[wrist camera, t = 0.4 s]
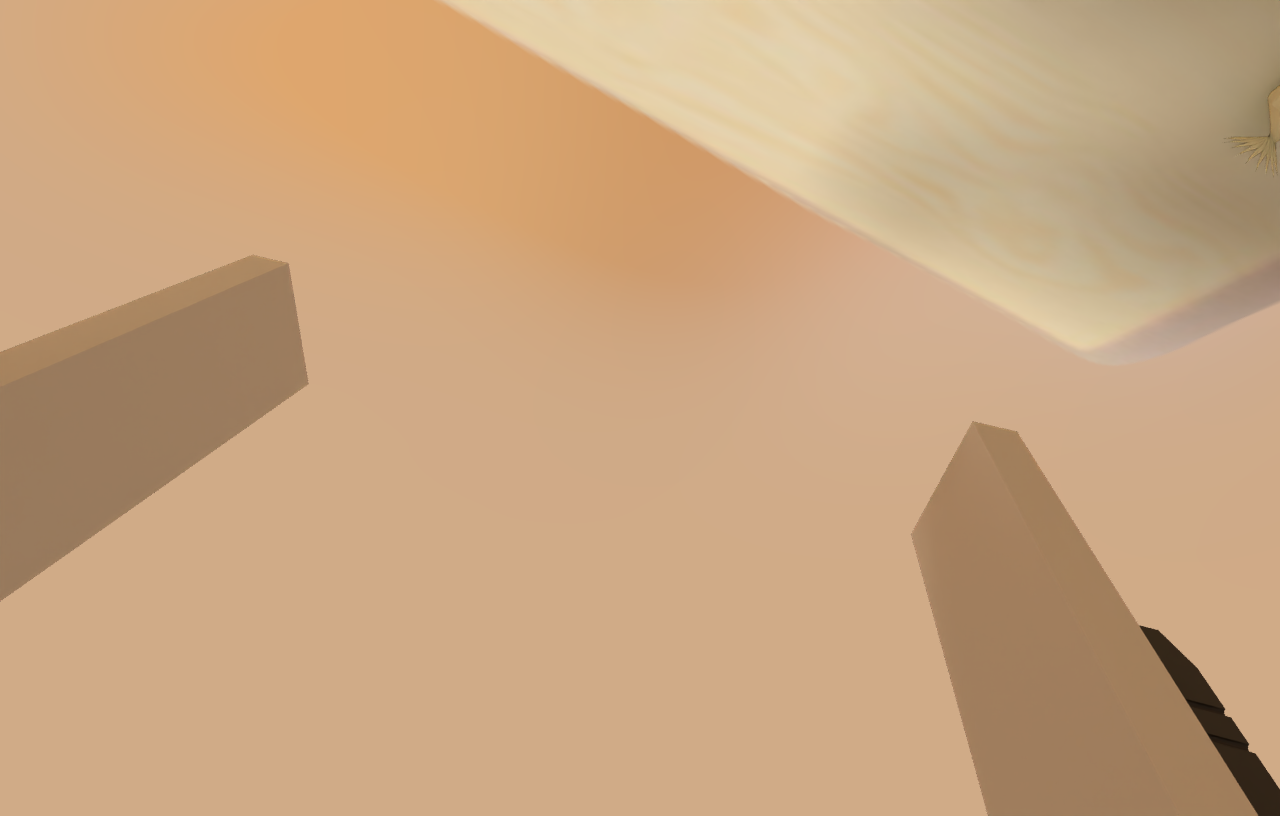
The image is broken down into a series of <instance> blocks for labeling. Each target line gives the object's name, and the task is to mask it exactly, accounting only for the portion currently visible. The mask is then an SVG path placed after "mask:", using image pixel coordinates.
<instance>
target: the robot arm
mask: <svg viewBox="0 0 1280 816" xmlns="http://www.w3.org/2000/svg"><path fill="white" fill-rule="evenodd" d="M306 385H308V378H307V372H306V366H305V361H304V354H303V348H302V342H301V336H300V330H299V324H298V318H297V311H296V305H295V300H294V294H293V288H292V281H291V275H290V269H289V264H288V263H285V262H281V261H277V260H273V259H268V258H264V257H260V256H255V255H251V256H249V257H246V258H243V259H241V260H238V261H236V262H233V263H231V264H228V265H226V266H223V267H220V268H217V269H215V270H212V271H210V272H207V273H204V274H202V275H199V276H197V277H194V278H191V279H189V280H186V281H184V282H181V283H178V284H176V285H173V286H171V287H168V288H165V289H163V290H160V291H158V292H155V293H152V294H150V295H147V296H145V297H142V298H139V299H137V300H134V301H132V302H129V303H127V304H124V305H121V306H119V307H116V308H114V309H111V310H108V311H106V312H103V313H100V314H98V315H95V316H93V317H90V318H87V319H85V320H82V321H80V322H77V323H74V324H72V325H69V326H67V327H64V328H61V329H59V330H56V331H54V332H51V333H48V334H46V335H43V336H41V337H38V338H35V339H33V340H30V341H28V342H25V343H23V344H20V345H17V346H15V347H12V348H10V349H7V350H4V351H2V352H0V601H1V600H3V599H4V598H6V597H7V596H8V595H10V594H11V593H13V592H14V591H15V590H17V589H18V588H20V587H21V586H22V585H24V584H25V583H27V582H28V581H30V580H31V579H32V578H34V577H35V576H37V575H38V574H40V573H41V572H42V571H44V570H45V569H47V568H48V567H49V566H51V565H52V564H54V563H55V562H57V561H58V560H59V559H61V558H62V557H64V556H65V555H66V554H68V553H69V552H71V551H72V550H74V549H75V548H76V547H78V546H79V545H81V544H82V543H83V542H85V541H86V540H88V539H89V538H91V537H92V536H93V535H95V534H96V533H98V532H99V531H101V530H102V529H103V528H105V527H106V526H108V525H109V524H110V523H112V522H113V521H115V520H116V519H118V518H119V517H120V516H122V515H123V514H125V513H126V512H128V511H129V510H130V509H132V508H133V507H134V506H136V505H137V504H139V503H140V502H142V501H143V500H145V499H146V498H147V497H149V496H150V495H152V494H153V493H155V492H156V491H157V490H159V489H160V488H162V487H163V486H164V485H166V484H167V483H169V482H170V481H171V480H173V479H174V478H176V477H177V476H178V475H180V474H181V473H183V472H184V471H186V470H187V469H189V468H190V467H191V466H193V465H194V464H196V463H197V462H198V461H200V460H201V459H203V458H204V457H206V456H207V455H208V454H210V453H211V452H213V451H214V450H215V449H217V448H218V447H220V446H221V445H222V444H224V443H225V442H227V441H228V440H230V439H231V438H233V437H234V436H235V435H237V434H238V433H240V432H241V431H242V430H244V429H245V428H247V427H248V426H250V425H251V424H252V423H254V422H255V421H257V420H258V419H259V418H261V417H262V416H264V415H265V414H266V413H268V412H269V411H271V410H272V409H274V408H275V407H276V406H278V405H279V404H281V403H282V402H283V401H285V400H286V399H288V398H289V397H291V396H292V395H294V394H295V393H296V392H298V391H299V390H301V389H302V388H303V387H305V386H306ZM911 536H912V540H913V544H914V547H915V550H916V554H917V558H918V562H919V565H920V569H921V573H922V576H923V580H924V584H925V587H926V591H927V595H928V598H929V602H930V606H931V609H932V613H933V617H934V620H935V624H936V627H937V631H938V635H939V638H940V642H941V645H942V649H943V653H944V657H945V660H946V664H947V668H948V671H949V675H950V679H951V682H952V686H953V689H954V693H955V697H956V701H957V704H958V708H959V711H960V715H961V719H962V722H963V726H964V730H965V733H966V737H967V741H968V744H969V748H970V752H971V755H972V759H973V763H974V766H975V770H976V774H977V777H978V781H979V785H980V788H981V792H982V795H983V799H984V803H985V806H986V810H987V814H988V816H1280V789H1279V788H1278V786H1277V785H1276V783H1275V782H1274V780H1273V779H1272V777H1271V776H1270V774H1269V773H1268V772H1267V770H1266V768H1265V767H1264V766H1263V764H1262V763H1261V761H1260V760H1259V758H1258V757H1257V755H1256V754H1255V753H1252V752H1249V751H1248V745H1249V743H1248V742H1247V740H1246V739H1245V737H1244V736H1243V735H1242V733H1241V732H1240V731H1239V729H1238V727H1237V726H1236V724H1235V723H1234V721H1233V720H1232V718H1231V717H1227V716H1225V714H1224V710H1225V708H1224V707H1223V705H1222V704H1221V702H1220V701H1219V699H1218V698H1217V696H1216V695H1215V693H1214V692H1213V690H1212V689H1211V688H1210V686H1209V685H1208V683H1207V682H1206V680H1205V679H1204V677H1203V676H1202V674H1201V673H1200V671H1199V670H1198V668H1197V667H1195V665H1193V663H1191V662H1190V661H1189V660H1188V659H1187V658H1186V657H1185V656H1184V655H1183V654H1182V653H1181V652H1180V651H1179V650H1178V649H1177V648H1176V647H1175V646H1174V645H1173V644H1172V643H1171V642H1170V641H1169V640H1168V639H1167V638H1166V637H1164V635H1163V634H1161V633H1160V632H1159V631H1158V630H1155V629H1151V628H1147V627H1144V626H1139V625H1138V623H1137V622H1136V620H1135V619H1134V617H1133V615H1132V614H1131V612H1130V611H1129V609H1128V607H1127V606H1126V604H1125V603H1124V601H1123V599H1122V598H1121V596H1120V595H1119V593H1118V591H1117V590H1116V588H1115V587H1114V585H1113V583H1112V582H1111V580H1110V579H1109V577H1108V576H1107V574H1106V572H1105V571H1104V569H1103V568H1102V566H1101V564H1100V563H1099V561H1098V560H1097V558H1096V556H1095V555H1094V553H1093V552H1092V550H1091V548H1090V547H1089V545H1088V544H1087V542H1086V541H1085V539H1084V537H1083V536H1082V534H1081V533H1080V531H1079V529H1078V528H1077V526H1076V525H1075V523H1074V521H1073V520H1072V518H1071V517H1070V515H1069V514H1068V512H1067V510H1066V509H1065V507H1064V505H1063V504H1062V502H1061V501H1060V499H1059V498H1058V496H1057V494H1056V493H1055V491H1054V490H1053V488H1052V486H1051V485H1050V483H1049V482H1048V480H1047V478H1046V477H1045V475H1044V474H1043V472H1042V471H1041V469H1040V467H1039V466H1038V464H1037V462H1036V461H1035V459H1034V458H1033V456H1032V455H1031V453H1030V451H1029V450H1028V448H1027V447H1026V445H1025V443H1024V442H1023V441H1022V439H1021V437H1020V436H1019V434H1018V432H1017V431H1012V430H1008V429H1004V428H999V427H995V426H991V425H986V424H982V423H978V422H972V423H971V425H970V427H969V429H968V431H967V433H966V434H965V436H964V438H963V440H962V442H961V444H960V446H959V447H958V449H957V451H956V453H955V455H954V456H953V458H952V460H951V462H950V464H949V465H948V467H947V469H946V471H945V473H944V475H943V476H942V478H941V480H940V482H939V484H938V486H937V487H936V489H935V491H934V493H933V495H932V497H931V498H930V501H929V502H928V504H927V506H926V508H925V509H924V511H923V513H922V515H921V517H920V519H919V521H918V522H917V524H916V526H915V528H914V530H913V531H912V533H911Z"/></svg>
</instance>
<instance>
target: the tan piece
mask: <svg viewBox="0 0 1280 816" xmlns="http://www.w3.org/2000/svg"><path fill="white" fill-rule="evenodd" d="M1268 103H1269V113H1270V130H1271V131H1270V135H1269V136H1268V137H1231V138H1223V139H1238V140H1239V141H1232V142H1248V143H1245V144H1242V145H1238V146H1235V147H1242V146H1251V147H1249V148H1248V149H1246V150H1244V151H1243V152H1241V153H1244V152H1247V151H1251V150H1254V149H1257V150H1256V151H1255V152H1254V153H1253V154H1252V155H1251V157H1250V158H1249V159H1248V161H1249V160H1250V159H1251V158H1253V157H1254V156H1256V155H1258V154H1259V153H1261V152H1262V153H1261V156H1260V159H1259V161H1258V164H1257V167H1258V165H1259V164H1260V162H1261V161H1262V160H1263V158H1264V157H1265V156H1266V172H1267V166H1268V163H1269V159H1270V158H1271V165H1272V171H1273V177H1274V169H1273V159H1274V163H1275V169H1276V171H1277V159H1276V142H1277V141H1279V140H1280V85H1279V86H1278V87H1277V88H1276V89H1275V90H1274V91H1272V92H1271V93H1270V95H1269V96H1268ZM1224 143H1225V142H1224ZM1232 148H1233V147H1232ZM1241 153H1240V154H1241ZM1238 155H1239V154H1238ZM1236 156H1237V155H1236ZM1248 161H1247V162H1248ZM1247 162H1246V163H1247ZM1246 163H1245V164H1246ZM1256 170H1257V169H1256ZM1277 175H1278V174H1277Z"/></svg>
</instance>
